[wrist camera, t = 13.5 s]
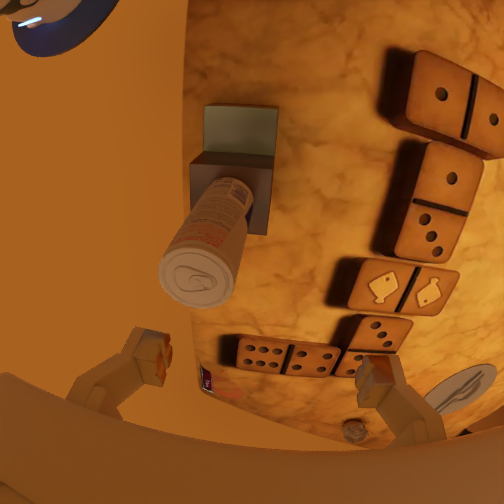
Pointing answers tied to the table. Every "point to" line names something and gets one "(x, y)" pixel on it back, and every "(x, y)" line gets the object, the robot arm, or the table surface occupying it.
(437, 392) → the plate
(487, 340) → the table surface
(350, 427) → the seashell
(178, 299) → the beverage can
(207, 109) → the stand
